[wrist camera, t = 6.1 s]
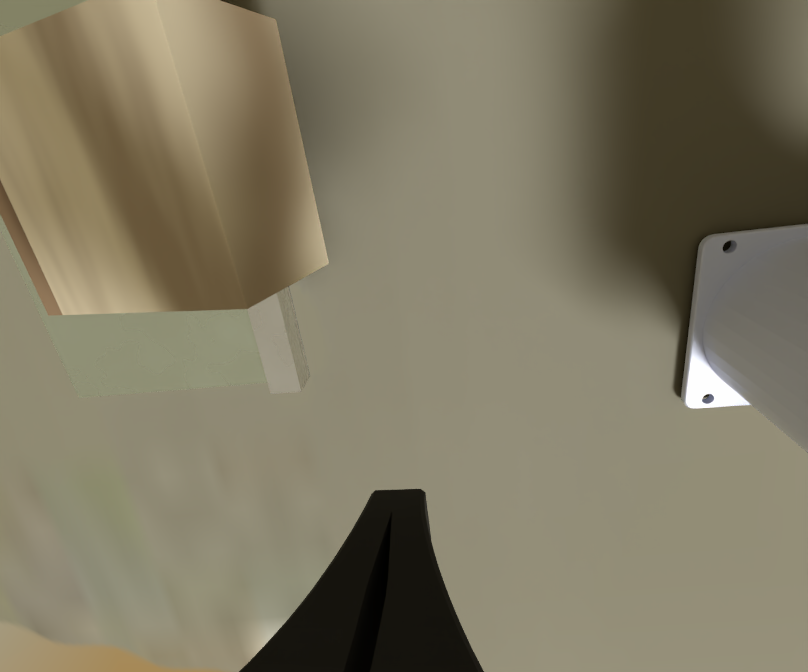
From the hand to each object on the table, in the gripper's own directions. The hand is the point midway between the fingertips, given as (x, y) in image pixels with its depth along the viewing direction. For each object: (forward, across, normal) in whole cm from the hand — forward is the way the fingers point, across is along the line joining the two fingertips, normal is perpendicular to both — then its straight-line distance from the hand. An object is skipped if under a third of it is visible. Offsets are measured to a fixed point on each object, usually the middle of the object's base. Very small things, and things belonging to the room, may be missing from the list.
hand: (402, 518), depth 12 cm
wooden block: (+5, +4, -9) cm, 11 cm away
